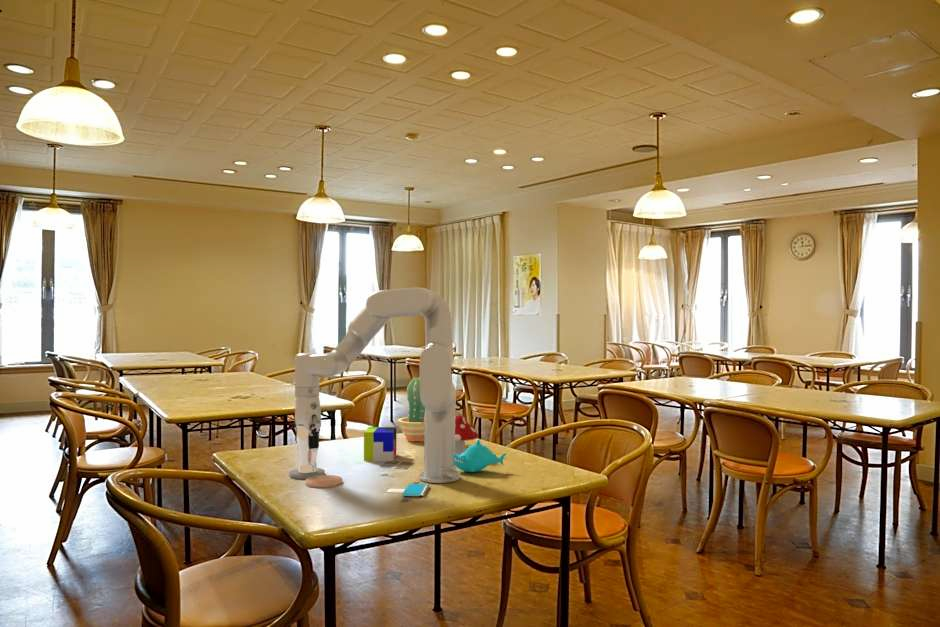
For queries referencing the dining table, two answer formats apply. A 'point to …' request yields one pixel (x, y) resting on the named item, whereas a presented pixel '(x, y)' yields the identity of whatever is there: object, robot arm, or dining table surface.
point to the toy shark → (476, 458)
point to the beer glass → (305, 452)
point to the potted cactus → (414, 414)
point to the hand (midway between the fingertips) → (307, 445)
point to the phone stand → (411, 490)
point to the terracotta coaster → (323, 481)
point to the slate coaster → (296, 475)
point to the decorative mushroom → (463, 434)
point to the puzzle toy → (380, 444)
